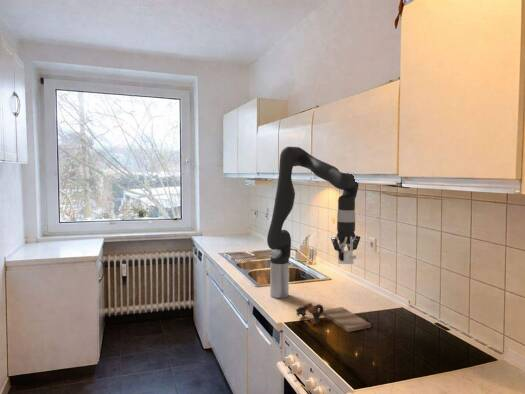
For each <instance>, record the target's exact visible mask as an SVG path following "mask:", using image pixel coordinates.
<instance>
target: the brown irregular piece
mask: <svg viewBox="0 0 525 394" xmlns="http://www.w3.org/2000/svg"><path fill="white" fill-rule="evenodd" d="M318 309H319V311H318ZM323 310H324V306H323V305H322V304H317V305H313V304H312V302H309V303H307V304H304V305H302V307H301V306H300V307H298V308H296V310H295V311H296V316H298V317H300V315H301V316H302V317H305V316H306V315H307V313H306V312H307V311H308V313H310V315H312V316H313V317H312V318H311V319H310V320H309V321H310V323H311V325H312V326H313V325H316V324H318V323H320V316H321V315H322V313H323Z"/></svg>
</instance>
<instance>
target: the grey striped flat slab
mask: <svg viewBox="0 0 525 394" xmlns="http://www.w3.org/2000/svg"><path fill="white" fill-rule="evenodd" d="M321 315H322V316H323V317H325V318H326V319H328V320H329V321H331V322H332V323H334V324H335V325H337V326H338V327H340V328H342V329H343V330H344V331H346V332H347V333H351V332H354V331H355V332H356V331H359V330H365V329H369V328H371V327H372V324H371V323H370V322H368V321H367V320H365V319H363V318H362V317H360V316H358V315H356V314H355V313H353V312H351V311H350V310H348V309H346V308H344V307H342V306H341V307H340V306H339V307H335V308H328V309H323V313H322V314H321Z"/></svg>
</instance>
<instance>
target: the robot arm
mask: <svg viewBox="0 0 525 394" xmlns="http://www.w3.org/2000/svg"><path fill="white" fill-rule="evenodd" d="M278 166H279V167H278V168H279V169H278V178H277V187H276V193H275V196H274V197H275V198H274V206H273V209H272V210H273V211H272V217H271V221H270V225H269V229H268V232H267V237H266V240H267V241H266V242H267V246H268V248H269V250H275V252H274V253H273V254H272V255H271V256H270V259H269V260H270V262H269V263H270V264H269V265H270V266H269V267H270V275H269V276H270V279H269V281H270V282H269V283H270V285H269V286H270V292H269V293H270V297H272V298H275V299H286V298H287V297H289V293H290V292H289V289H290V288H289V287H290V275H289V273H290V269H289V267H290V262H289V261H290V258H291V248H292V237H291V234H290V232H289V231H288V230H286V229H283V226H284V223H285V221H286V219H287V218H288V217H289V215H290V214H291V211H292V210H293V208H294V204H295V199H296V197H295V196H296V191H295V187H294V184H293V180H292V179H293V178H292V174H293V168H294V167H302V168H306V169H308V170H310V171H311V172H312V173H313V174H314V175H315V176H316V177H317V178H320V179H322V180H325V181H326V182H329V183H330V184H331V186H333V187H335V188H336V189H338V190H341V191H342V195H340V196H339V197H338V200H337V214H336V218H337V219H336V221H337V222H336V230H337V234H336V236H335V237H331V239H330V240H331V243H332V246H333V248H334V251H336V252H337V251H339V259H340V261H344V250H345V248H346V247H347V249H346V250H352V253H353V252H354V251H355V250H357V249H358V245H359V242H360V239H361V236H359V235H356V234H355V232H356V198H357V194H358V190H359V183H360V182H359V183H357V182H355V179H354V176H353V175H352V174H349V173H350V172H341V171H340V170H339V169H338V168H337V167H336V166H334V165H331V164H329V163H328V162H324V161H322V160H320V159H318V158H317V157H315V156H313V155H311V154H309V153H308V151H306V150H305V149H303V148H301V147H299V146H285V147H283V148H282V150H281V152H280V156H279V165H278Z"/></svg>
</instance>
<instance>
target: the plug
mask: <svg viewBox="0 0 525 394" xmlns="http://www.w3.org/2000/svg"><path fill="white" fill-rule="evenodd" d="M336 252H337V263H338V264H339V265H353V264H354V262H355V261H354V260H355V259H357V255H354V254H353V252H352V250H348V249H344V261H340V259H339V251H336Z"/></svg>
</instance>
